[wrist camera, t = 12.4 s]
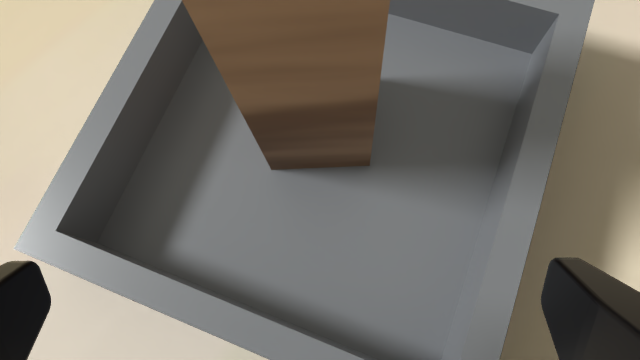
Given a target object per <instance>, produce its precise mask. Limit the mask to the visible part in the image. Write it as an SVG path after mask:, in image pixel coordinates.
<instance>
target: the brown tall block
mask: <svg viewBox="0 0 640 360" xmlns="http://www.w3.org/2000/svg"><path fill="white" fill-rule="evenodd" d="M182 2H183V3H184V5H185V7H186V9H187V11H188V13H189V15H190V17H191V19H192V20H193V22H194V24H195V26H196V28H197V30H198V32H199V34H200V36H201V37H202V39H203V41H204V43H205V45H206V47H207V49H208V51H209V53H210V55H211V56H212V58H213V60H214V62H215V64H216V66H217V68H218V70H219V72H220V73H221V75H222V77H223V79H224V81H225V83H226V85H227V87H228V89H229V91H230V92H231V94H232V96H233V98H234V100H235V102H236V104H237V106H238V108H239V109H240V111H241V113H242V115H243V117H244V119H245V121H246V123H247V125H248V126H249V128H250V130H251V132H252V134H253V136H254V138H255V140H256V142H257V144H258V145H259V147H260V149H261V151H262V153H263V155H264V157H265V159H266V161H267V162H268V164H269V166H270V168H271V170H278V169H302V168H326V167H351V166H370V159H371V151H372V143H373V135H374V126H375V118H376V110H377V102H378V94H379V86H380V78H381V70H382V61H383V53H384V45H385V37H386V29H387V21H388V13H389V4H390V0H182Z"/></svg>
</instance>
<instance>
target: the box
mask: <svg viewBox="0 0 640 360" xmlns="http://www.w3.org/2000/svg"><path fill="white" fill-rule="evenodd" d="M594 1H595V0H390V4H389V13H388V21H387V29H386V37H385V45H384V53H383V61H382V70H381V78H380V86H379V94H378V102H377V110H376V118H375V126H374V135H373V143H372V151H371V159H370V166H351V167H326V168H302V169H278V170H271V168H270V166H269V164H268V162H267V161H266V159H265V157H264V155H263V153H262V151H261V149H260V147H259V145H258V144H257V142H256V140H255V138H254V136H253V134H252V132H251V130H250V128H249V126H248V125H247V123H246V121H245V119H244V117H243V115H242V113H241V111H240V109H239V108H238V106H237V104H236V102H235V100H234V98H233V96H232V94H231V92H230V91H229V89H228V87H227V85H226V83H225V81H224V79H223V77H222V75H221V73H220V72H219V70H218V68H217V66H216V64H215V62H214V60H213V58H212V56H211V55H210V53H209V51H208V49H207V47H206V45H205V43H204V41H203V39H202V37H201V36H200V34H199V32H198V30H197V28H196V26H195V24H194V22H193V20H192V19H191V17H190V15H189V13H188V11H187V9H186V7H185V5H184V3H183V2H182V0H154V2H153V4H152V6H151V7H150V9H149V11H148V13H147V14H146V16H145V18H144V20H143V21H142V23H141V25H140V27H139V29H138V30H137V32H136V34H135V36H134V37H133V39H132V41H131V43H130V44H129V46H128V48H127V50H126V51H125V53H124V55H123V57H122V58H121V60H120V62H119V64H118V66H117V67H116V69H115V71H114V73H113V74H112V76H111V78H110V80H109V81H108V83H107V85H106V87H105V88H104V90H103V92H102V94H101V95H100V97H99V99H98V101H97V103H96V104H95V106H94V108H93V110H92V111H91V113H90V115H89V117H88V118H87V120H86V122H85V124H84V125H83V127H82V129H81V131H80V132H79V134H78V136H77V138H76V139H75V141H74V143H73V145H72V147H71V148H70V150H69V152H68V154H67V155H66V157H65V159H64V161H63V162H62V164H61V166H60V168H59V169H58V171H57V173H56V175H55V176H54V178H53V180H52V182H51V184H50V185H49V187H48V189H47V191H46V192H45V194H44V196H43V198H42V199H41V201H40V203H39V205H38V206H37V208H36V210H35V212H34V213H33V215H32V217H31V219H30V221H29V222H28V224H27V226H26V228H25V229H24V231H23V233H22V235H21V236H20V238H19V240H18V242H17V243H16V245H15V247H14V249H15V250H17V251H20V252H22V253H24V254H26V255H29V256H31V257H33V258H36V259H38V260H40V261H43V262H45V263H47V264H50V265H52V266H54V267H57V268H59V269H61V270H63V271H66V272H68V273H70V274H73V275H75V276H77V277H80V278H82V279H84V280H87V281H89V282H91V283H94V284H96V285H98V286H101V287H103V288H105V289H107V290H110V291H112V292H114V293H117V294H119V295H121V296H124V297H126V298H128V299H131V300H133V301H135V302H138V303H140V304H142V305H144V306H147V307H149V308H151V309H154V310H156V311H158V312H161V313H163V314H165V315H168V316H170V317H172V318H175V319H177V320H179V321H182V322H184V323H186V324H188V325H191V326H193V327H195V328H198V329H200V330H202V331H205V332H207V333H209V334H212V335H214V336H216V337H219V338H221V339H223V340H225V341H228V342H230V343H232V344H235V345H237V346H239V347H242V348H244V349H246V350H249V351H251V352H253V353H256V354H258V355H260V356H262V357H265V358H267V359H269V360H500V356H501V352H502V349H503V345H504V341H505V337H506V333H507V330H508V326H509V322H510V318H511V315H512V311H513V307H514V303H515V299H516V296H517V292H518V288H519V284H520V280H521V277H522V273H523V269H524V265H525V262H526V258H527V254H528V250H529V246H530V243H531V239H532V235H533V231H534V228H535V224H536V220H537V216H538V212H539V209H540V205H541V201H542V197H543V194H544V190H545V186H546V182H547V178H548V175H549V171H550V167H551V163H552V159H553V156H554V152H555V148H556V144H557V141H558V137H559V133H560V129H561V125H562V122H563V118H564V114H565V110H566V107H567V103H568V99H569V95H570V91H571V88H572V84H573V80H574V76H575V72H576V69H577V65H578V61H579V57H580V54H581V50H582V46H583V42H584V38H585V35H586V31H587V27H588V23H589V20H590V16H591V12H592V8H593V4H594Z"/></svg>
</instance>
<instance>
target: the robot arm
mask: <svg viewBox="0 0 640 360" xmlns="http://www.w3.org/2000/svg"><path fill="white" fill-rule="evenodd" d="M541 304H542V309H543V312H544V315H545V318H546V321H547V324H548V327H549V330H550V333H551V336H552V339H553V342H554V345H555V348H556V351H557V354H558V357H559V360H640V292H638V291H637V290H635V289H633V288H631V287H630V286H628V285H626V284H624V283H622V282H621V281H619V280H617V279H615V278H614V277H612V276H610V275H608V274H606V273H605V272H603V271H601V270H599V269H597V268H596V267H594V266H592V265H590V264H589V263H587V262H585V261H583V260H581V259H579V258H555V259H553V260H551V262H550V264H549V266H548V270H547V275H546V279H545V283H544V287H543V291H542V296H541ZM50 306H51V296H50V293H49V291H48V288H47V286H46V283H45V281H44V278H43V275H42V273H41V270H40V268H39V266H38V265H37V264H36V263H35V262H32V261H11V262H7V263H5V264H3V265H0V360H27V359H28V356H29V354H30V352H31V350H32V348H33V345H34V343H35V341H36V339H37V337H38V334H39V332H40V330H41V328H42V326H43V323H44V321H45V319H46V317H47V315H48V312H49V310H50Z"/></svg>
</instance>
